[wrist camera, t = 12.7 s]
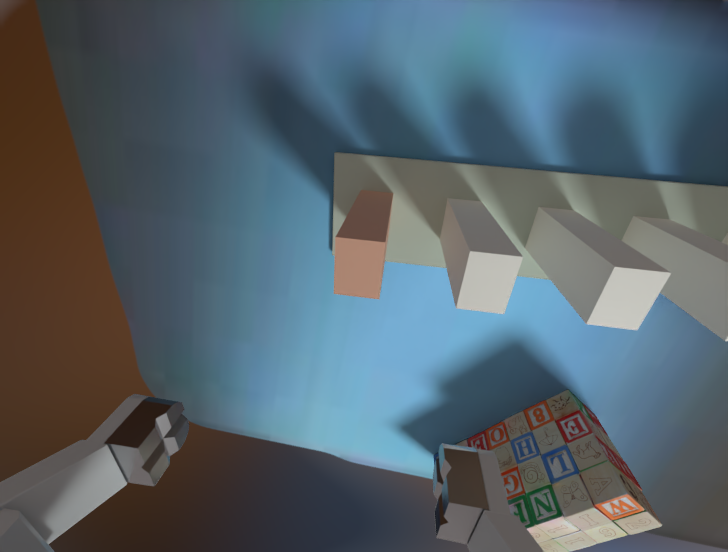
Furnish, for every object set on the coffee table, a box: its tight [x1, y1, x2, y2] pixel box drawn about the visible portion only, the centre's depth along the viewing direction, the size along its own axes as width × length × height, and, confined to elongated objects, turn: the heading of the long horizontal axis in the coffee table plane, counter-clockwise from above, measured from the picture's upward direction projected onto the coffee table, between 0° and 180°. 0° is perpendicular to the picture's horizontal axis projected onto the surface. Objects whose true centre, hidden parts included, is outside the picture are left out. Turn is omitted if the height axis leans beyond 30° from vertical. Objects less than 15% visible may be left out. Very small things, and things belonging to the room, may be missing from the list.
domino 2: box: [440, 198, 523, 314], centre depth 25 cm, size 3×4×12 cm
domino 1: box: [334, 190, 393, 299], centre depth 25 cm, size 3×4×12 cm
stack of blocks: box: [434, 390, 662, 552], centre depth 38 cm, size 21×6×12 cm, turn 137°
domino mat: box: [332, 152, 728, 280], centre depth 30 cm, size 40×10×1 cm, turn 86°
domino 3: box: [525, 207, 671, 330], centre depth 24 cm, size 3×4×12 cm
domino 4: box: [621, 216, 728, 341], centre depth 23 cm, size 3×4×12 cm
